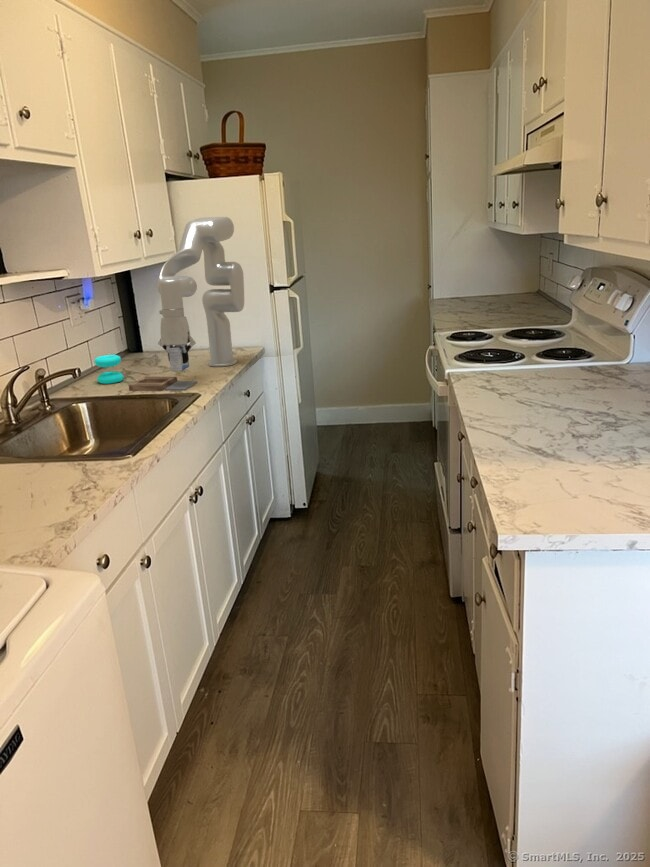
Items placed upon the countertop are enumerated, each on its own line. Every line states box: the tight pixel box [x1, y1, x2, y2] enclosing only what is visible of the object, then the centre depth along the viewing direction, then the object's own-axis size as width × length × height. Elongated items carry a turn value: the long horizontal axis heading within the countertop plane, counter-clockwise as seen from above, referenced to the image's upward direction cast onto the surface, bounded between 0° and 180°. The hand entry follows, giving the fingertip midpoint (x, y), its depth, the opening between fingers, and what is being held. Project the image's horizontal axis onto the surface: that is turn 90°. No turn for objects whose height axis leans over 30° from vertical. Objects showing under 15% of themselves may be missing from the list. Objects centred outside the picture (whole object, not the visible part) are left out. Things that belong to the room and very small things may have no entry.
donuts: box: [93, 354, 125, 385], centre depth 256 cm, size 10×10×10 cm
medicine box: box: [168, 345, 190, 372], centre depth 242 cm, size 8×4×9 cm, turn 171°
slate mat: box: [164, 380, 199, 391], centre depth 245 cm, size 12×8×1 cm, turn 168°
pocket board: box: [128, 375, 178, 392], centre depth 247 cm, size 14×13×2 cm
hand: (179, 362), depth 242 cm, fingers closed on medicine box, 4 cm apart
